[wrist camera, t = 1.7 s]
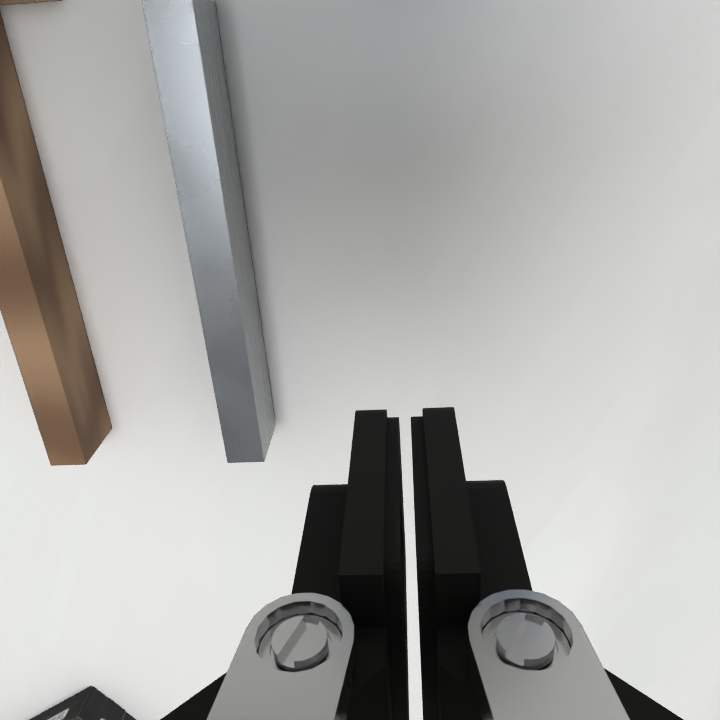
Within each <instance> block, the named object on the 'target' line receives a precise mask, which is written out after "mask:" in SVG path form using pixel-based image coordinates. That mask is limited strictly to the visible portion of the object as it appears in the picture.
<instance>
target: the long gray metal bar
mask: <svg viewBox="0 0 720 720" xmlns="http://www.w3.org/2000/svg"><path fill="white" fill-rule="evenodd" d="M142 4H143V9H144V15H145V20H146V25H147V31H148V36H149V41H150V47H151V52H152V58H153V63H154V68H155V74H156V79H157V85H158V90H159V95H160V101H161V106H162V112H163V117H164V122H165V128H166V133H167V139H168V144H169V149H170V155H171V160H172V165H173V171H174V176H175V182H176V187H177V192H178V198H179V203H180V209H181V214H182V219H183V225H184V230H185V236H186V241H187V246H188V252H189V257H190V263H191V268H192V273H193V279H194V284H195V289H196V295H197V300H198V306H199V311H200V316H201V322H202V327H203V333H204V338H205V343H206V349H207V354H208V360H209V365H210V370H211V376H212V381H213V386H214V392H215V397H216V403H217V408H218V413H219V419H220V424H221V430H222V435H223V440H224V446H225V451H226V457H227V462H228V463H236V462H264V461H265V458H266V454H267V451H268V448H269V445H270V441H271V438H272V435H273V431H274V428H275V418H274V411H273V404H272V397H271V390H270V383H269V376H268V369H267V362H266V355H265V348H264V341H263V335H262V328H261V321H260V314H259V307H258V300H257V293H256V286H255V279H254V272H253V265H252V258H251V251H250V244H249V237H248V230H247V223H246V216H245V209H244V202H243V195H242V188H241V181H240V174H239V167H238V160H237V153H236V146H235V139H234V132H233V125H232V118H231V112H230V105H229V98H228V91H227V84H226V77H225V70H224V63H223V56H222V49H221V42H220V35H219V28H218V21H217V14H216V7H215V0H142Z"/></svg>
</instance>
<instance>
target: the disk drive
mask: <svg viewBox="0 0 720 720" xmlns="http://www.w3.org/2000/svg"><path fill="white" fill-rule="evenodd" d="M30 720H136V719H135V718H133V717H132V716H131V715H129V714H128V713H127V712H126V711H125V710H124V709H123V708H121V707H120V706H119V705H118V704H116V703H115V702H114V701H112V700H111V699H110V698H108V697H106V696H105V695H104V694H103V693H101V692H100V691H98V690H97V689H96V688H95V687H93V686H90V687H88V688H86V689H84V690H83V691H81V692H80V693H77V694H75V695H74V696H72V697H70V698H68V699H66V700H64V701H63V702H61V703H59V704H57V705H56V706H54V707H52V708H50V709H48V710H46V711H44V712H43V713H41V714H39V715H37V716H35V717H34V718H32V719H30Z"/></svg>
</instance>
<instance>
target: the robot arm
mask: <svg viewBox="0 0 720 720" xmlns="http://www.w3.org/2000/svg"><path fill="white" fill-rule="evenodd" d="M411 433H412V458H413V484H414V509H415V534H416V559H417V582H418V606H419V629H420V653H421V677H422V700H423V720H683V719H682V718H680V717H679V716H677V715H675V714H674V713H672V712H671V711H669V710H668V709H666V708H665V707H663V706H662V705H660V704H658V703H657V702H655V701H654V700H652V699H651V698H649V697H648V696H646V695H645V694H643V693H641V692H640V691H638V690H637V689H635V688H634V687H632V686H631V685H629V684H628V683H626V682H624V681H623V680H621V679H620V678H618V677H617V676H615V675H614V674H612V673H611V672H609V671H607V670H606V669H604V668H603V666H602V664H601V662H600V660H599V658H598V656H597V654H596V652H595V650H594V648H593V646H592V644H591V642H590V640H589V638H588V637H587V635H586V633H585V631H584V629H583V627H582V625H581V623H580V622H579V621H578V619H577V618H576V616H575V615H574V614H573V612H572V611H571V610H569V609H568V608H567V607H566V606H564V605H563V604H562V603H561V602H559V601H558V600H556V599H553V598H551V597H549V596H547V595H545V594H543V593H538V592H534V591H532V587H531V583H530V579H529V575H528V571H527V567H526V563H525V559H524V555H523V551H522V547H521V543H520V539H519V535H518V531H517V527H516V523H515V519H514V515H513V511H512V507H511V503H510V499H509V495H508V491H507V487H506V484H505V482H504V481H503V480H490V481H466V479H465V473H464V467H463V461H462V454H461V448H460V442H459V436H458V430H457V423H456V417H455V411H454V407H446V408H423V416H422V417H411ZM161 720H409V696H408V649H407V602H406V556H405V531H404V510H403V490H402V469H401V449H400V428H399V417H393V418H387V410H360V411H356V412H355V421H354V430H353V440H352V450H351V459H350V469H349V478H348V484H342V485H313V487H312V489H311V492H310V498H309V503H308V508H307V514H306V519H305V524H304V530H303V535H302V541H301V546H300V551H299V557H298V562H297V568H296V573H295V578H294V584H293V589H292V595H288V596H284V597H280V598H279V599H277V600H275V601H273V602H271V603H269V604H267V605H266V606H264V607H263V608H262V609H261V610H260V611H259V612H258V613H257V614H255V615H254V617H253V618H252V620H251V621H250V623H249V625H248V626H247V628H246V630H245V632H244V634H243V637H242V639H241V641H240V644H239V646H238V648H237V651H236V653H235V655H234V657H233V660H232V662H231V664H230V667H229V669H228V671H227V672H226V673H225V674H224V675H222V676H221V677H219V678H218V679H217V680H215V681H214V682H212V683H211V684H210V685H208V686H207V687H205V688H204V689H203V690H201V691H200V692H199V693H197V694H196V695H194V696H193V697H192V698H190V699H189V700H187V701H186V702H185V703H183V704H182V705H180V706H179V707H178V708H176V709H175V710H173V711H172V712H171V713H169V714H168V715H166V716H165V717H164V718H162V719H161Z"/></svg>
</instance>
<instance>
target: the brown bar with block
mask: <svg viewBox="0 0 720 720" xmlns="http://www.w3.org/2000/svg"><path fill="white" fill-rule="evenodd" d="M48 1H60V0H0V5H11V4H24V3H36V2H48ZM0 310H1V313H2V316H3V320H4V323H5V326H6V329H7V332H8V335H9V338H10V341H11V344H12V347H13V350H14V353H15V356H16V359H17V363H18V366H19V369H20V372H21V375H22V378H23V381H24V384H25V387H26V390H27V393H28V396H29V399H30V402H31V406H32V409H33V412H34V415H35V418H36V421H37V424H38V427H39V430H40V433H41V436H42V439H43V442H44V445H45V449H46V452H47V455H48V458H49V461H50V464H51V465H84V464H87V462H88V461H89V460H90V458H91V457H92V455H93V454H94V453H95V451H96V450H97V448H98V447H99V446H100V444H101V443H102V442H103V440H104V439H105V437H106V436H107V435H108V433H109V432H110V430H111V429H112V426H111V423H110V419H109V415H108V412H107V408H106V404H105V400H104V397H103V393H102V389H101V386H100V382H99V378H98V374H97V371H96V367H95V363H94V360H93V356H92V352H91V348H90V345H89V341H88V337H87V334H86V330H85V326H84V322H83V319H82V315H81V311H80V308H79V304H78V300H77V296H76V293H75V289H74V285H73V282H72V278H71V274H70V270H69V267H68V263H67V259H66V256H65V252H64V248H63V244H62V241H61V237H60V233H59V230H58V226H57V222H56V219H55V215H54V211H53V207H52V204H51V200H50V196H49V193H48V189H47V185H46V181H45V178H44V174H43V170H42V167H41V163H40V159H39V155H38V152H37V148H36V144H35V141H34V137H33V133H32V129H31V126H30V122H29V118H28V115H27V111H26V107H25V103H24V100H23V96H22V92H21V89H20V85H19V81H18V77H17V74H16V70H15V66H14V63H13V59H12V55H11V51H10V48H9V44H8V40H7V37H6V33H5V29H4V25H3V22H2V18H1V14H0Z"/></svg>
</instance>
